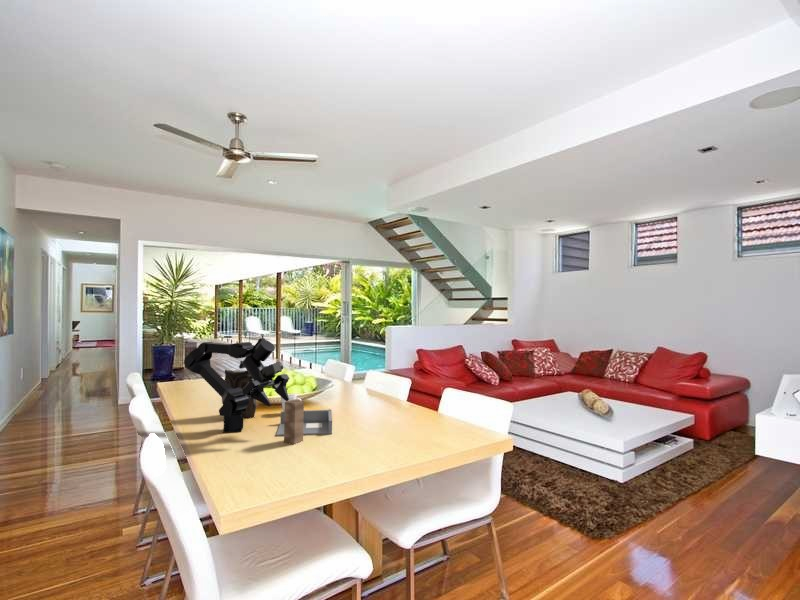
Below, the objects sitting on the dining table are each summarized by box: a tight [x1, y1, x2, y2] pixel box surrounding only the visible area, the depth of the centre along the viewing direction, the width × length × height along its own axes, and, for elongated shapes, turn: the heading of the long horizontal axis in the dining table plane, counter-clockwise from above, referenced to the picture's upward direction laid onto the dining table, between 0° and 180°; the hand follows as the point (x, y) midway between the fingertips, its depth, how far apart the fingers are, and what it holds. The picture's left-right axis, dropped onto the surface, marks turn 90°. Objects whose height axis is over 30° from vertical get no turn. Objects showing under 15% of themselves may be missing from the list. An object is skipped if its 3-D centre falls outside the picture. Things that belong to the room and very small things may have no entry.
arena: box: [275, 409, 333, 437], centre depth 163 cm, size 20×17×5 cm
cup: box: [280, 393, 303, 411], centre depth 185 cm, size 7×10×8 cm
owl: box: [224, 369, 257, 419], centre depth 180 cm, size 13×13×20 cm
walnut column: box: [283, 399, 305, 445], centre depth 148 cm, size 5×5×14 cm
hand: (279, 402), depth 151 cm, fingers open, 9 cm apart
